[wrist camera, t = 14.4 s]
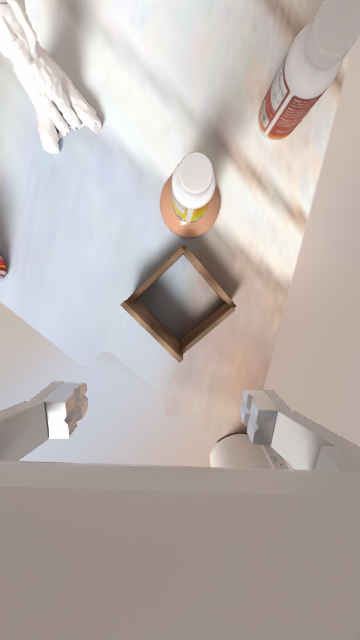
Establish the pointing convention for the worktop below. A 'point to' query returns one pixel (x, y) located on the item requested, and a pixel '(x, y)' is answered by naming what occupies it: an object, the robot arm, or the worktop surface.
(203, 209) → the supplement bottle
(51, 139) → the seated beast figurine
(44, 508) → the robot arm
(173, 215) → the tan oval disc
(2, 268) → the soda can
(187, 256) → the frame
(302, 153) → the worktop surface
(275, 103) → the pill bottle
